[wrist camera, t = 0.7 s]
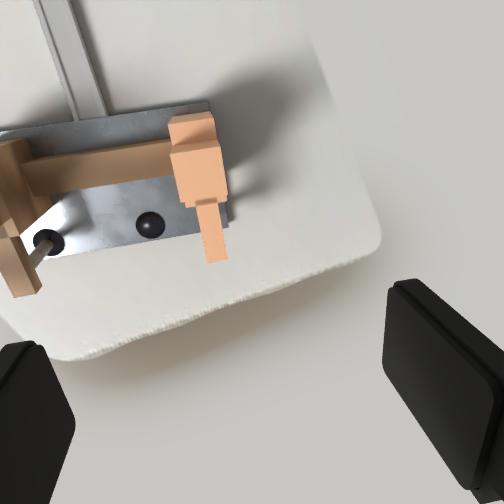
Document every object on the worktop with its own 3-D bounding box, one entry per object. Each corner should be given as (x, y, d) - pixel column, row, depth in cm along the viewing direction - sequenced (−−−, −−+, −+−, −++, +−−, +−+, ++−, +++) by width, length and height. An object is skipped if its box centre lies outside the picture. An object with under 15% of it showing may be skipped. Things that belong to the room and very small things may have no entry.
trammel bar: (-18, 143, 27) (-112, 171, 19) (206, 111, 29) (212, 123, 20) (35, 260, 32) (-22, 325, 23) (226, 227, 33) (237, 277, 25)
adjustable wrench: (131, 177, 32) (128, 182, 30) (57, 185, 31) (50, 190, 29) (34, -247, 21) (21, -274, 19) (-86, -249, 20) (-110, -277, 18)
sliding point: (172, 116, 28) (164, 130, 20) (209, 110, 29) (216, 122, 20) (197, 234, 33) (199, 284, 25) (229, 228, 33) (241, 276, 25)
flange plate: (-18, 134, 28) (-26, 135, 27) (207, 101, 29) (208, 102, 28) (36, 256, 33) (32, 261, 32) (227, 223, 34) (228, 227, 33)
